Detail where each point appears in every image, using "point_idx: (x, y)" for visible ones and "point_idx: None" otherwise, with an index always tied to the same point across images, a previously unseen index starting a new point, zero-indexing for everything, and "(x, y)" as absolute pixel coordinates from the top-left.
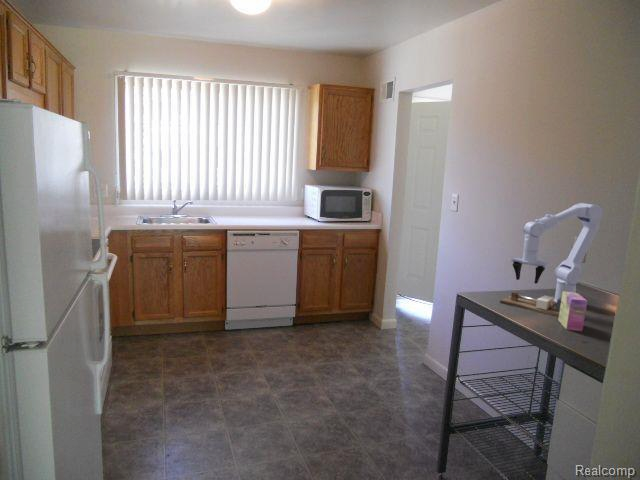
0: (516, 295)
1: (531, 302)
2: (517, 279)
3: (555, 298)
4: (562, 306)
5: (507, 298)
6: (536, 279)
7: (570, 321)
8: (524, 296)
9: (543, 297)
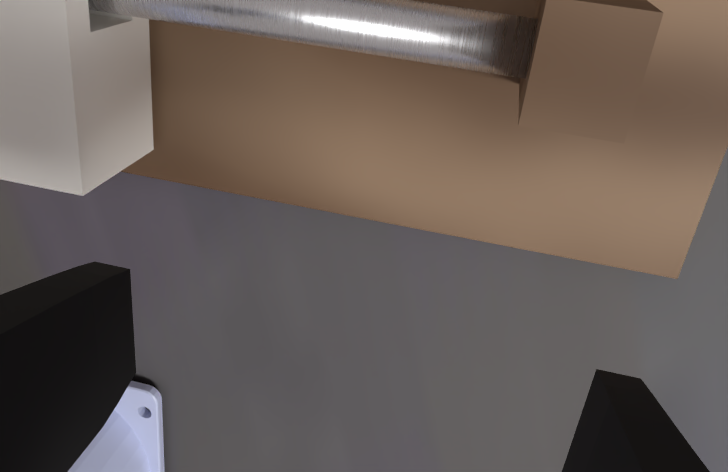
0: (541, 11)
1: (300, 103)
2: (609, 376)
3: (115, 444)
4: None
5: (705, 70)
6: (1, 299)
7: None
8: (381, 32)
9: (29, 32)
